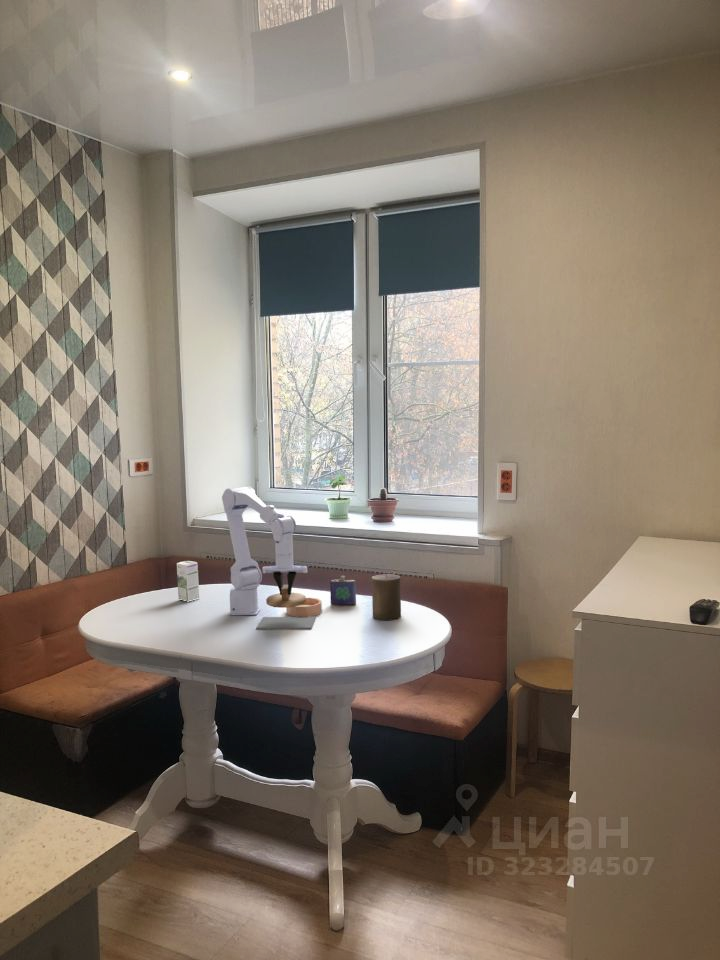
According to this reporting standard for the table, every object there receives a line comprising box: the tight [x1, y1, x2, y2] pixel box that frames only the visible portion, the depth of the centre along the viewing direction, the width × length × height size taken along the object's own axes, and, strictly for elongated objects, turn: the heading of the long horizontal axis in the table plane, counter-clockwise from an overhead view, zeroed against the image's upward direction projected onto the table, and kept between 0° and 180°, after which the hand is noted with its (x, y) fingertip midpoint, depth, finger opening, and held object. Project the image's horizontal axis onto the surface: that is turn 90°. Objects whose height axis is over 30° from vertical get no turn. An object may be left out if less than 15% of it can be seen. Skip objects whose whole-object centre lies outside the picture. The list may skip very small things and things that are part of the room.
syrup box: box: [176, 560, 200, 601], centre depth 274 cm, size 6×6×14 cm
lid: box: [265, 584, 307, 609], centre depth 241 cm, size 13×13×5 cm
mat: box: [255, 616, 317, 630], centre depth 241 cm, size 18×12×1 cm, turn 87°
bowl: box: [285, 597, 323, 617], centre depth 255 cm, size 12×12×4 cm
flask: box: [329, 575, 357, 607], centre depth 262 cm, size 9×3×11 cm, turn 87°
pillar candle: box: [371, 573, 402, 621], centre depth 246 cm, size 10×10×15 cm
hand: (285, 594), depth 240 cm, fingers closed on lid
